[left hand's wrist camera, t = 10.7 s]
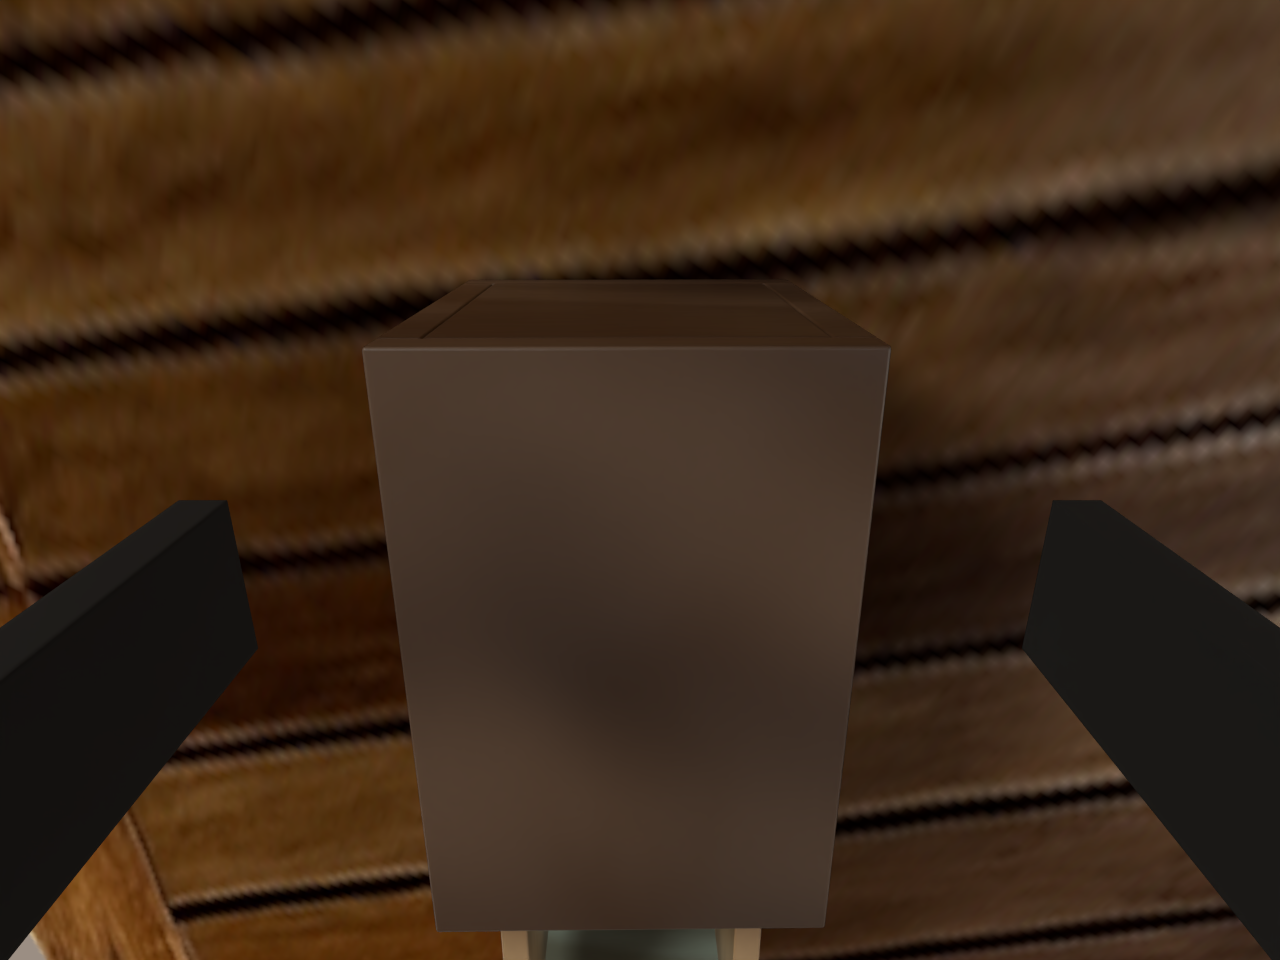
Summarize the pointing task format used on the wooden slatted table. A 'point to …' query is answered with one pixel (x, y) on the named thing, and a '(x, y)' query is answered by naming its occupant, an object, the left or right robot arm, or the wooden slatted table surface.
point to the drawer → (633, 944)
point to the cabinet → (628, 593)
